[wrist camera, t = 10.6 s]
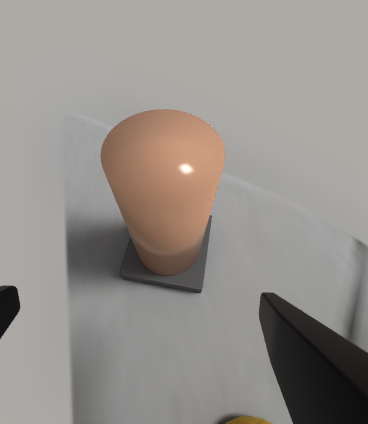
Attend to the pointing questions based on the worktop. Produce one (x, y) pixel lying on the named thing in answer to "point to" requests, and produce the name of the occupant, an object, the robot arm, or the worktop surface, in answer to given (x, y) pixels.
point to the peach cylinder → (164, 184)
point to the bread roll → (248, 420)
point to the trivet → (184, 281)
